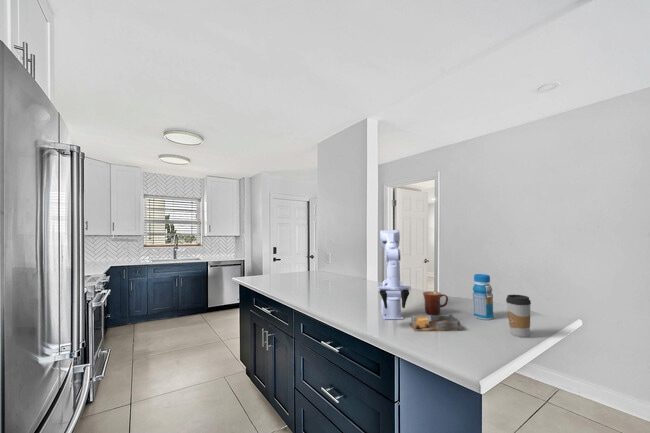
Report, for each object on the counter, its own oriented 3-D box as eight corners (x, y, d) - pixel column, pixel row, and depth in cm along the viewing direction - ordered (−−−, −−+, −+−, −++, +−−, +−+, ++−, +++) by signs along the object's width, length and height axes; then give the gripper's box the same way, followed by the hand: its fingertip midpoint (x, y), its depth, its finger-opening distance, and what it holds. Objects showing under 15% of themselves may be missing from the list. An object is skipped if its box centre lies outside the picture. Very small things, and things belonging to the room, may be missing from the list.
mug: (425, 316, 144) (424, 295, 144) (421, 311, 152) (420, 291, 153) (451, 316, 142) (450, 295, 143) (445, 311, 151) (444, 291, 152)
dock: (414, 333, 123) (413, 322, 123) (408, 325, 133) (408, 315, 133) (460, 333, 122) (460, 321, 123) (451, 325, 132) (451, 314, 132)
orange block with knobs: (414, 328, 125) (413, 317, 125) (410, 324, 131) (410, 313, 132) (429, 328, 125) (429, 317, 125) (425, 324, 131) (425, 313, 131)
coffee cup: (502, 331, 120) (500, 294, 121) (522, 330, 121) (520, 293, 121) (517, 339, 112) (515, 299, 112) (538, 338, 113) (536, 298, 113)
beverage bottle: (474, 319, 137) (472, 276, 138) (473, 314, 145) (471, 273, 146) (495, 321, 134) (493, 276, 135) (492, 315, 142) (490, 274, 143)
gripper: (378, 277, 126) (379, 310, 124) (412, 276, 126) (414, 309, 125) (375, 275, 133) (376, 306, 131) (407, 275, 133) (409, 306, 132)
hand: (394, 307), depth 128 cm, fingers open, 7 cm apart
